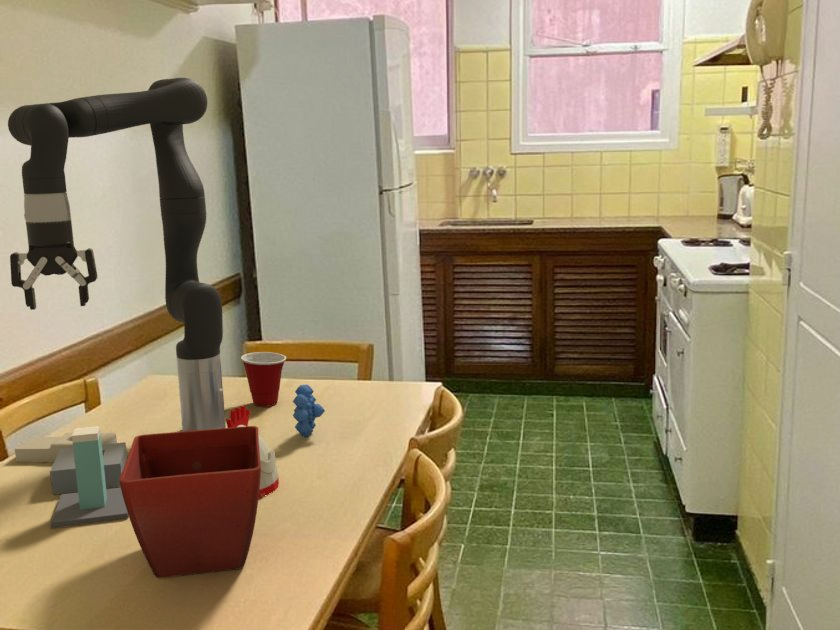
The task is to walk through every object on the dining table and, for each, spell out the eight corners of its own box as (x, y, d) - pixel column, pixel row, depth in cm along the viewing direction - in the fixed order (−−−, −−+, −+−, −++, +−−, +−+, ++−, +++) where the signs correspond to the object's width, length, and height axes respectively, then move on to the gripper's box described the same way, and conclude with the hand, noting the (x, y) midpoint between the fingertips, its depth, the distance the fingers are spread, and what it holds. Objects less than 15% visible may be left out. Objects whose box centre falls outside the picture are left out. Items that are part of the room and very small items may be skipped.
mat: (132, 491, 151) (132, 486, 150) (127, 518, 139) (127, 513, 139) (62, 499, 148) (61, 494, 147) (51, 528, 136) (50, 522, 136)
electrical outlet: (32, 432, 173) (116, 431, 172) (34, 451, 174) (118, 450, 173) (14, 444, 166) (101, 443, 165) (16, 463, 167) (103, 463, 166)
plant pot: (268, 577, 119) (261, 467, 116) (128, 595, 115) (117, 481, 112) (264, 521, 137) (258, 424, 134) (144, 534, 133) (134, 435, 130)
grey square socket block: (127, 463, 164) (125, 442, 163) (122, 486, 153) (120, 463, 152) (62, 470, 161) (60, 448, 160) (52, 494, 150) (50, 471, 149)
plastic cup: (284, 409, 197) (282, 360, 194) (239, 410, 197) (236, 361, 195) (292, 396, 207) (289, 350, 205) (249, 397, 208) (246, 350, 205)
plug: (107, 497, 146) (99, 425, 143) (104, 506, 142) (97, 433, 139) (82, 500, 145) (75, 428, 142) (79, 509, 141) (71, 435, 138)
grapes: (321, 446, 171) (318, 391, 169) (288, 446, 172) (285, 391, 170) (331, 428, 183) (328, 375, 180) (300, 428, 183) (298, 375, 181)
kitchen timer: (292, 477, 156) (287, 401, 153) (254, 507, 143) (249, 424, 140) (227, 469, 160) (222, 395, 157) (186, 497, 147) (179, 417, 145)
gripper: (92, 215, 154) (101, 301, 157) (9, 219, 150) (20, 306, 153) (88, 218, 147) (97, 308, 150) (0, 222, 143) (11, 313, 146)
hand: (58, 307), depth 152 cm, fingers open, 8 cm apart
